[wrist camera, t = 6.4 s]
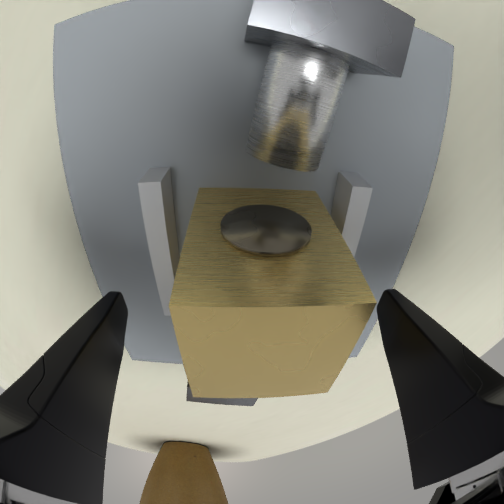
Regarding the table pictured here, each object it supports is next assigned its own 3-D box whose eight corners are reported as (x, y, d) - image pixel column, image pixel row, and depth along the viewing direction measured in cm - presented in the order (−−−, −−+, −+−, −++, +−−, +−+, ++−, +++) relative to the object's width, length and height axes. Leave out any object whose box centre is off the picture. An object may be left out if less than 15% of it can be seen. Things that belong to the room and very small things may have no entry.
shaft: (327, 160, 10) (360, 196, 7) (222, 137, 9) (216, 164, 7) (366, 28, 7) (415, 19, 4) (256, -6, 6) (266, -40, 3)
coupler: (298, 280, 13) (326, 394, 8) (204, 280, 13) (193, 399, 8) (316, 187, 10) (379, 298, 6) (199, 183, 10) (167, 300, 5)
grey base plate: (437, 45, 7) (476, 47, 5) (352, 343, 19) (362, 373, 17) (69, 26, 6) (32, 22, 4) (135, 346, 18) (128, 377, 16)
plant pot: (130, 441, 36) (124, 518, 23) (163, 428, 30) (158, 533, 17) (202, 458, 42) (203, 527, 29) (250, 446, 36) (255, 533, 23)
